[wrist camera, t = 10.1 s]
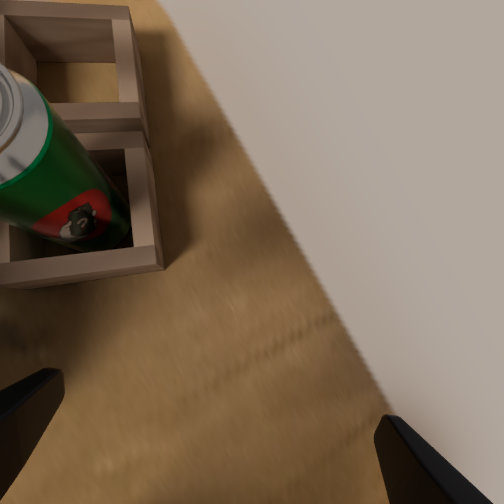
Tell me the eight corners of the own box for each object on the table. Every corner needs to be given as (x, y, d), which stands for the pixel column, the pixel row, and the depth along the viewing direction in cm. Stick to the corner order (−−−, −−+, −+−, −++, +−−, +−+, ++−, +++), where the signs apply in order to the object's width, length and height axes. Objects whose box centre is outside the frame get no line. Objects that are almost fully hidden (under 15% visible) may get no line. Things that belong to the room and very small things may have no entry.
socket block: (164, 270, 20) (148, 257, 14) (1, 292, 18) (-101, 289, 12) (139, 50, 22) (116, -37, 17) (-4, 47, 20) (-87, -54, 15)
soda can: (142, 198, 20) (57, 61, 9) (121, 261, 19) (-7, 202, 8) (73, 180, 20) (-119, 5, 8) (47, 244, 19) (-218, 151, 7)
